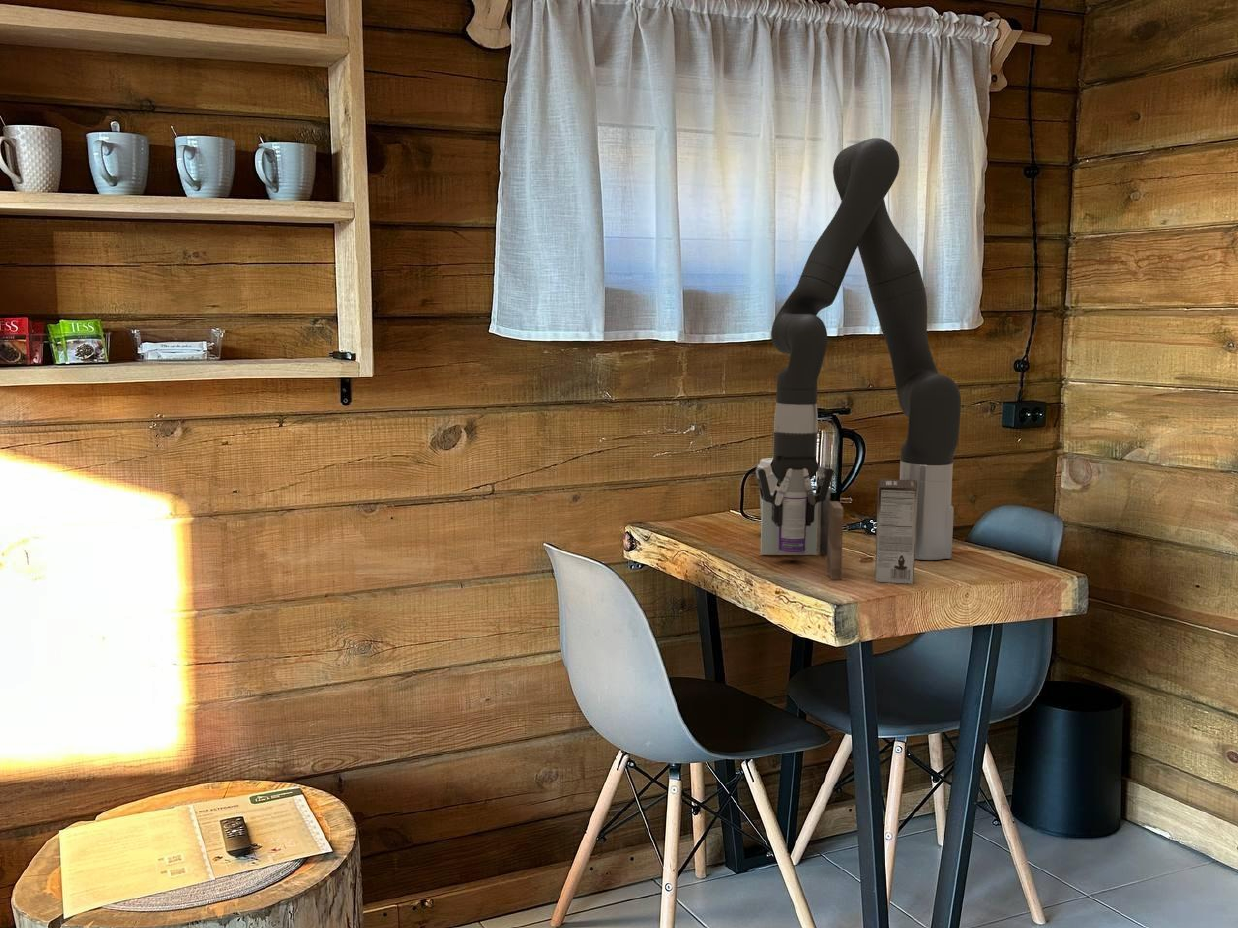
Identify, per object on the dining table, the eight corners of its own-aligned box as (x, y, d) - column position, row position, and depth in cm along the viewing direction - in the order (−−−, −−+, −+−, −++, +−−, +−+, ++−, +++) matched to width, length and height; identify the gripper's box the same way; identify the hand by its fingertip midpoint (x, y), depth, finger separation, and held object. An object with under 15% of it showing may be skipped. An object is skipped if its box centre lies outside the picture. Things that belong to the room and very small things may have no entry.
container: (783, 548, 214) (786, 465, 212) (808, 551, 212) (811, 467, 210) (774, 553, 210) (777, 468, 208) (800, 556, 208) (802, 470, 206)
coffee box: (874, 570, 206) (878, 477, 204) (912, 572, 204) (916, 479, 202) (874, 582, 197) (878, 486, 195) (914, 584, 196) (919, 487, 193)
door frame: (825, 549, 222) (827, 486, 220) (840, 579, 198) (843, 508, 197) (816, 549, 222) (818, 485, 220) (831, 579, 198) (833, 508, 197)
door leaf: (815, 553, 218) (817, 493, 216) (816, 554, 216) (818, 494, 215) (760, 553, 217) (762, 493, 216) (761, 554, 216) (763, 494, 214)
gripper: (828, 426, 213) (825, 521, 215) (750, 427, 211) (747, 522, 213) (842, 431, 205) (838, 528, 208) (761, 431, 203) (758, 530, 206)
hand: (792, 524), depth 210 cm, fingers closed on container, 4 cm apart
